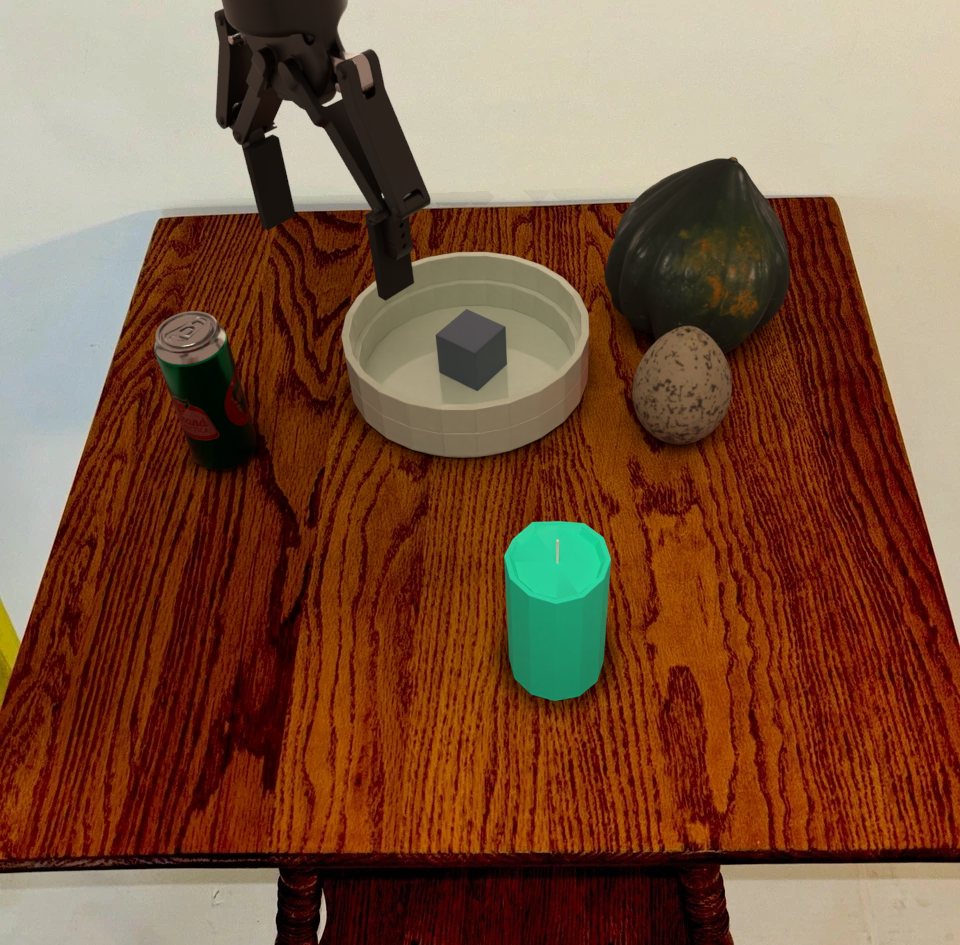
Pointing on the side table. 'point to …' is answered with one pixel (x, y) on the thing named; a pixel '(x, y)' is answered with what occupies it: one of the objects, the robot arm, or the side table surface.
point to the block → (471, 349)
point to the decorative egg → (682, 386)
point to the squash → (700, 256)
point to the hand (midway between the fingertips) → (335, 254)
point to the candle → (557, 607)
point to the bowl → (444, 401)
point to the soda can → (205, 390)
